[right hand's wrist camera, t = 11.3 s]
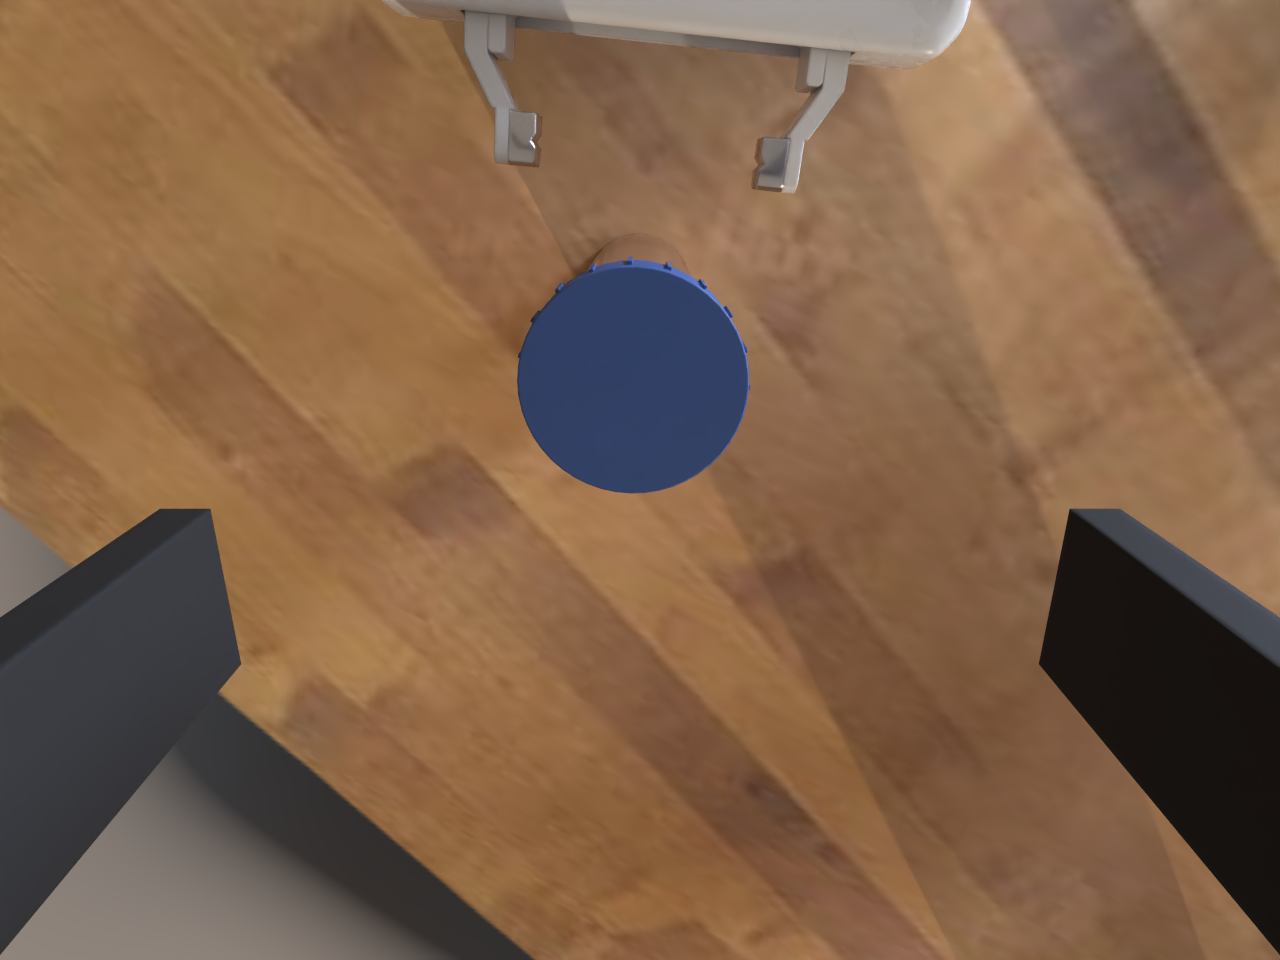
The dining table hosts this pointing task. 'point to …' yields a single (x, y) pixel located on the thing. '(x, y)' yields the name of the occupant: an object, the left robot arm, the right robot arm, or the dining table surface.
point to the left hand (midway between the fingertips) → (645, 179)
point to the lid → (633, 377)
